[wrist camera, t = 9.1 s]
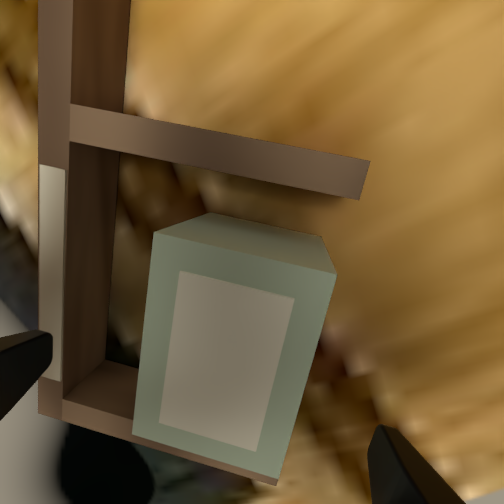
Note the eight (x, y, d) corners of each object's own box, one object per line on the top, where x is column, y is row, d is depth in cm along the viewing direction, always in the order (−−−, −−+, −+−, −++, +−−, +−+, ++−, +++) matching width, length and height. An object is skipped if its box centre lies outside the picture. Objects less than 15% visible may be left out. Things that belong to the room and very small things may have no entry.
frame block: (320, 235, 13) (337, 275, 7) (285, 371, 15) (278, 482, 9) (211, 212, 13) (151, 232, 8) (190, 345, 15) (130, 436, 10)
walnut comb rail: (469, -260, 9) (562, -497, 6) (280, 428, 15) (276, 488, 12) (115, -279, 10) (34, -486, 7) (83, 371, 16) (36, 414, 13)
